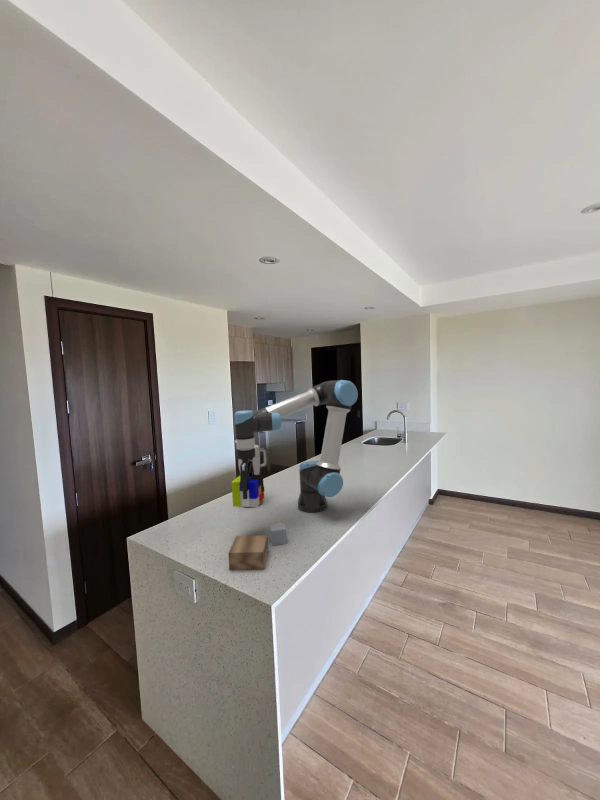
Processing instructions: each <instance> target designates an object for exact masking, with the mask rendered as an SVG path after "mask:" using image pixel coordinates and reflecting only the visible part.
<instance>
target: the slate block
mask: <svg viewBox="0 0 600 800" xmlns="http://www.w3.org/2000/svg"><path fill="white" fill-rule="evenodd" d="M268 528H269V529H268V530H269V541H270V544H271V546H272V547H275V546H281V545H287V544H288V543H287V541H288V539H287V528H286V525H285V523H284V522H279V523H273V524H272V523H270V524H268Z"/></svg>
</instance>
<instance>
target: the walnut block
mask: <svg viewBox="0 0 600 800" xmlns="http://www.w3.org/2000/svg"><path fill="white" fill-rule="evenodd" d="M268 554H269V536H268V535H267V534H262V535H236V536H235V538H234V540H233V543H232V544H231V547H230V549H229V551H228V566H229V568H228V570H229V571H232V570H234V571H235V570H236V571H237V570H265V565H266V562H267V558H268Z"/></svg>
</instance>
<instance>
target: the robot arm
mask: <svg viewBox="0 0 600 800" xmlns="http://www.w3.org/2000/svg"><path fill="white" fill-rule="evenodd" d="M307 390H308V391H305V392H302V393H300V394H297V395H294V396H291V397H289V398H286V399H284V400H282V401H278V402H276V403H274V404H271V405H268V406H266V407H264V408H263V407H262V408H260V409H258V410H248V409H247V410H238V411H236V412H235V413H234V422H233V423H234V429H235V430H234V431H235V441H234V443H235V444H236V457H237V460H238V459H241V460H242V463H241V465H240V470H239V476H240V489H239V490H240V491H242V503H243V507H242V508H245V507H246V508H250V507H249V506H250V500H249V490H248V481H249V475H254V467H253V458H254V457H255V448H254V447H255V445H256V437H255V433H263V432H271V431H272V432H273V431H278V430H280V429H281V427H282V419H283V418H286V417H288V416H290V415H292V414H295V413H298V412H300V411H303V410H306V409H307V408H310V407H312V406H314V407H318V406H321V405H325V406H326V409H327V410H328V412H327V416H326V417H327V418H326V423H325V429H324V436H323V440H322V441H323V442H322V447H321V453H320V459H319V460H308V461H304V462H303V461H302V462H301V463H300V464H299V468H298V472H299V488H300V489H299V490H300V493H299V496H298V499H297V500H298V501H297V509H298V510H299V511H302V512H304V513H318V512H317V511H319V512H321V511H320V510H323V509H325V508H326V507H327V508H328V499H327V498H332V497H335V496H336V495H337V494H339V493H340V492H341V491H342V489H343V485H344V478H343V476H342V475H341V474H340V473H341V471H342V470H341V468H342V467H341V466H340V464H339V461H340V455H341V449H342V443H343V438H344V437H343V436H344V431H345V424H346V418H347V414H348V413H349V412H351V410H352V406H353V405H354V404H355V403H356V402H357V400H358V396H359V392H358V389H357V386H356V385H355V384H354V382H352V381H351V380H345V379H340V380H339V379H338V380H327V381H324V382H322V383H319V384H317V385H314V386H313V387H310V388H308V389H307ZM243 487H245V488H243ZM327 508H326V509H327ZM326 509H325V510H326ZM323 511H324V510H323Z"/></svg>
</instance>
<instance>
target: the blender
mask: <svg viewBox="0 0 600 800" xmlns="http://www.w3.org/2000/svg"><path fill="white" fill-rule="evenodd" d="M254 448H255V457H254V458H253V467H254V475H260V469H261V468H264V467H266V466H267V465H268V455H267V454H268V453H267V450H266V449H265V448H262V447H260V446H259V445H258V444H255V447H254ZM260 452H262V453H263V463H261V455H260ZM237 461H238V470H239V471H240V465H241V463H242V460H241V459H238V458H237ZM263 500H264V499H263ZM263 500H262V501H261V503H260V504H259V505H258V506H257V507H259V506H261V505H262V502H263Z"/></svg>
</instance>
